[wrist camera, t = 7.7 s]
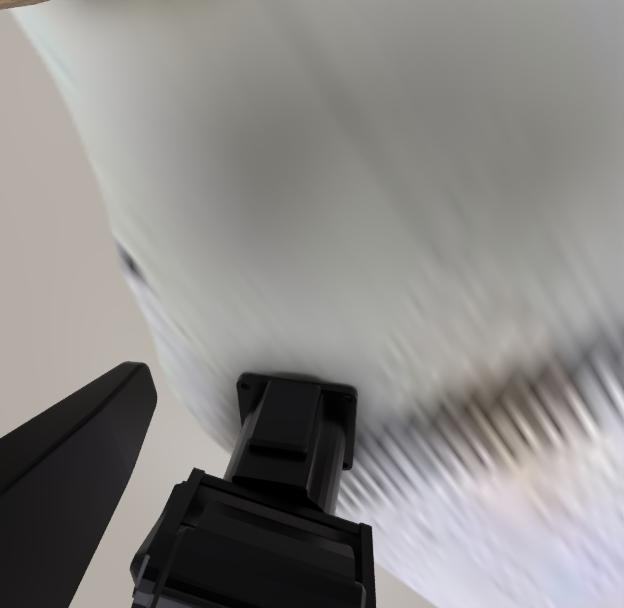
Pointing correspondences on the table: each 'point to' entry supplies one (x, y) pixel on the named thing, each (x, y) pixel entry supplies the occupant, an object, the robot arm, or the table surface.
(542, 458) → the table surface
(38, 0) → the tower top
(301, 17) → the table surface
